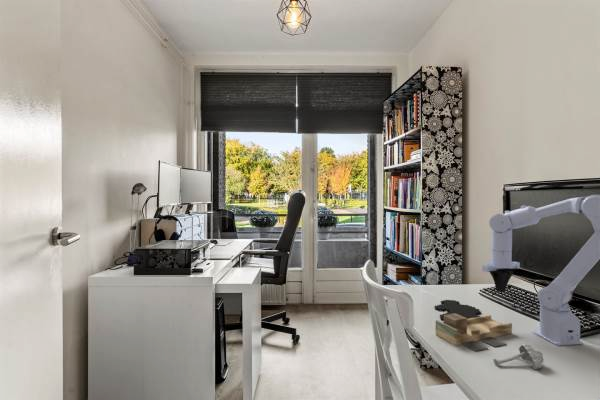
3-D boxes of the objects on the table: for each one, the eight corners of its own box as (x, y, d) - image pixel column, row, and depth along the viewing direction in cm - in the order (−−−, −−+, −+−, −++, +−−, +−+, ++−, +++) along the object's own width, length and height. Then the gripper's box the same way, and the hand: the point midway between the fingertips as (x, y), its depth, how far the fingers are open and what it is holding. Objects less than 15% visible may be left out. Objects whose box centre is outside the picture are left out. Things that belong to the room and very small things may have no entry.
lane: (489, 323, 114) (489, 310, 114) (527, 339, 102) (528, 325, 102) (435, 334, 106) (435, 320, 106) (470, 353, 94) (470, 337, 94)
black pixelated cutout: (497, 335, 106) (476, 304, 134) (497, 332, 106) (476, 301, 134) (440, 330, 110) (432, 301, 139) (440, 327, 110) (432, 298, 139)
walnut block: (455, 327, 107) (455, 313, 107) (466, 333, 103) (466, 318, 102) (443, 329, 105) (443, 315, 105) (454, 335, 101) (454, 320, 101)
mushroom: (487, 345, 90) (532, 338, 91) (487, 360, 91) (531, 352, 92) (505, 365, 83) (553, 356, 84) (504, 381, 85) (552, 372, 85)
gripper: (506, 247, 120) (505, 285, 121) (474, 249, 115) (473, 290, 116) (526, 250, 114) (525, 291, 114) (493, 253, 109) (492, 296, 109)
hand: (500, 291), depth 115 cm, fingers closed
